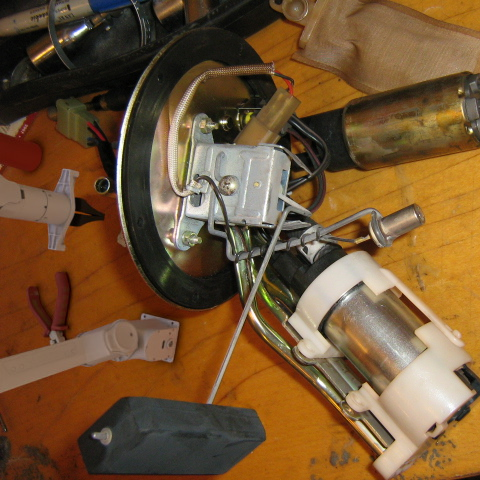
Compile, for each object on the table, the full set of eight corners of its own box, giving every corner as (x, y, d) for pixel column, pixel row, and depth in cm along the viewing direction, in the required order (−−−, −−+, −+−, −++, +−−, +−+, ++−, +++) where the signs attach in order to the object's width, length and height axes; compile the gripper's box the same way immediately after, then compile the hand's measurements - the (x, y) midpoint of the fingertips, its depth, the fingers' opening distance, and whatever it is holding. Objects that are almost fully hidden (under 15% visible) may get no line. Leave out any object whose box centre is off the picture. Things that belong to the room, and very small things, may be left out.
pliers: (49, 373, 102) (38, 375, 100) (33, 288, 107) (22, 287, 104) (86, 357, 99) (76, 359, 96) (68, 270, 103) (57, 269, 101)
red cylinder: (44, 143, 110) (-3, 128, 100) (39, 172, 110) (-9, 160, 100) (24, 142, 113) (-24, 127, 103) (19, 170, 113) (-30, 158, 102)
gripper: (27, 161, 79) (92, 178, 92) (11, 244, 78) (79, 250, 91) (56, 163, 76) (119, 181, 89) (40, 249, 76) (105, 255, 88)
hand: (101, 216), depth 90 cm, fingers closed
